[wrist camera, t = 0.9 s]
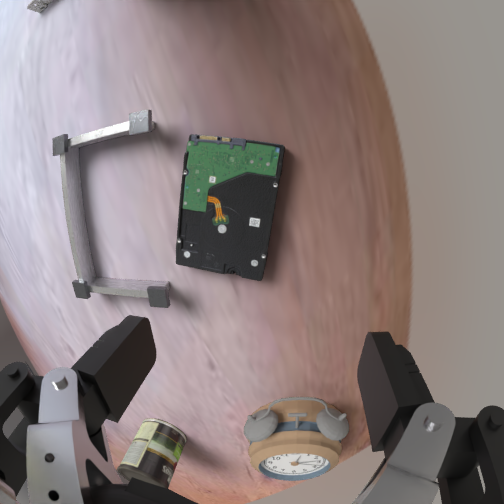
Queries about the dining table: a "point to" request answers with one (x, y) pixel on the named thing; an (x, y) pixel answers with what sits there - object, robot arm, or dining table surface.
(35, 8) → the power supply unit
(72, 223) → the chassis
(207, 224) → the disk drive
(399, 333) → the dining table surface
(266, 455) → the alarm clock
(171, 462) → the coffee can
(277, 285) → the dining table surface
